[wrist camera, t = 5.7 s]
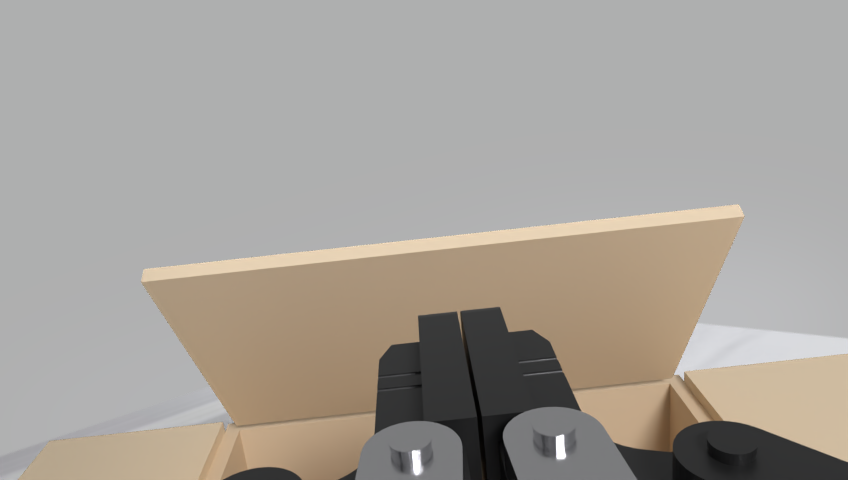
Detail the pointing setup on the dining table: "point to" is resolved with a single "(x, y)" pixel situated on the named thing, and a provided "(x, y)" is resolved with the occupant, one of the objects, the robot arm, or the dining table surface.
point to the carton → (611, 405)
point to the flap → (444, 306)
